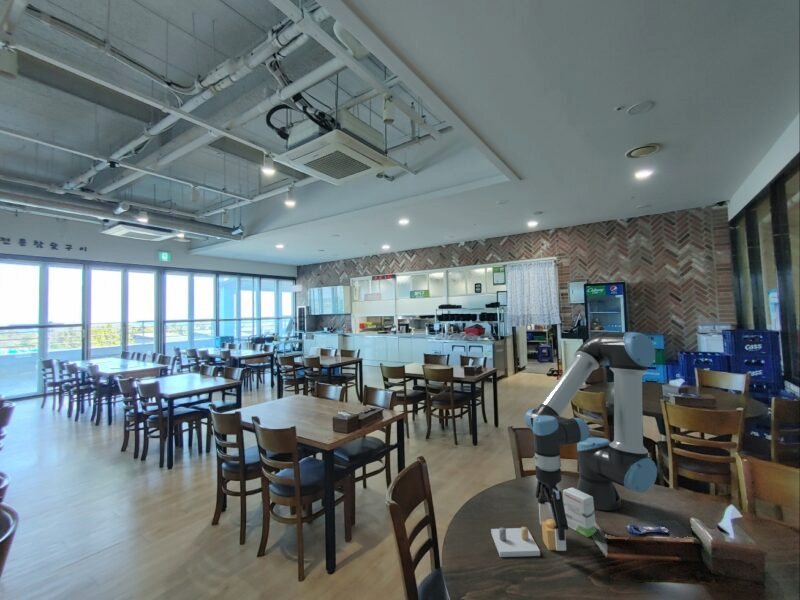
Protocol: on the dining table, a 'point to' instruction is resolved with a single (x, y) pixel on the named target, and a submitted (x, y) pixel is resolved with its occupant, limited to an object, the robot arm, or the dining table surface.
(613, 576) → the dining table surface
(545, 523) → the tan stud block
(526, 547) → the plate
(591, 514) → the ink box
